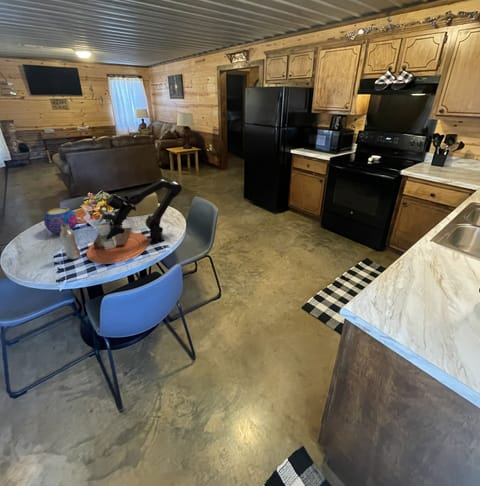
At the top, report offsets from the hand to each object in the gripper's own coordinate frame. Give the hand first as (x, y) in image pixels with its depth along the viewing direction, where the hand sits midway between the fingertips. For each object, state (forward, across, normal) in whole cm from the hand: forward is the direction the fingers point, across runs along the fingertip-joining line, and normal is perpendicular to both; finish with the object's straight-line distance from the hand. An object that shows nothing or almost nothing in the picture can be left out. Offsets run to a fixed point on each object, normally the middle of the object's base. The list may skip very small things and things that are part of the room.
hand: (105, 236), depth 143 cm
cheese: (-15, -44, +32) cm, 56 cm away
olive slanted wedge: (+4, -17, +12) cm, 21 cm away
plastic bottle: (+20, -7, -4) cm, 21 cm away
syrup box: (+4, 0, +6) cm, 7 cm away
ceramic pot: (+20, -46, -5) cm, 51 cm away
